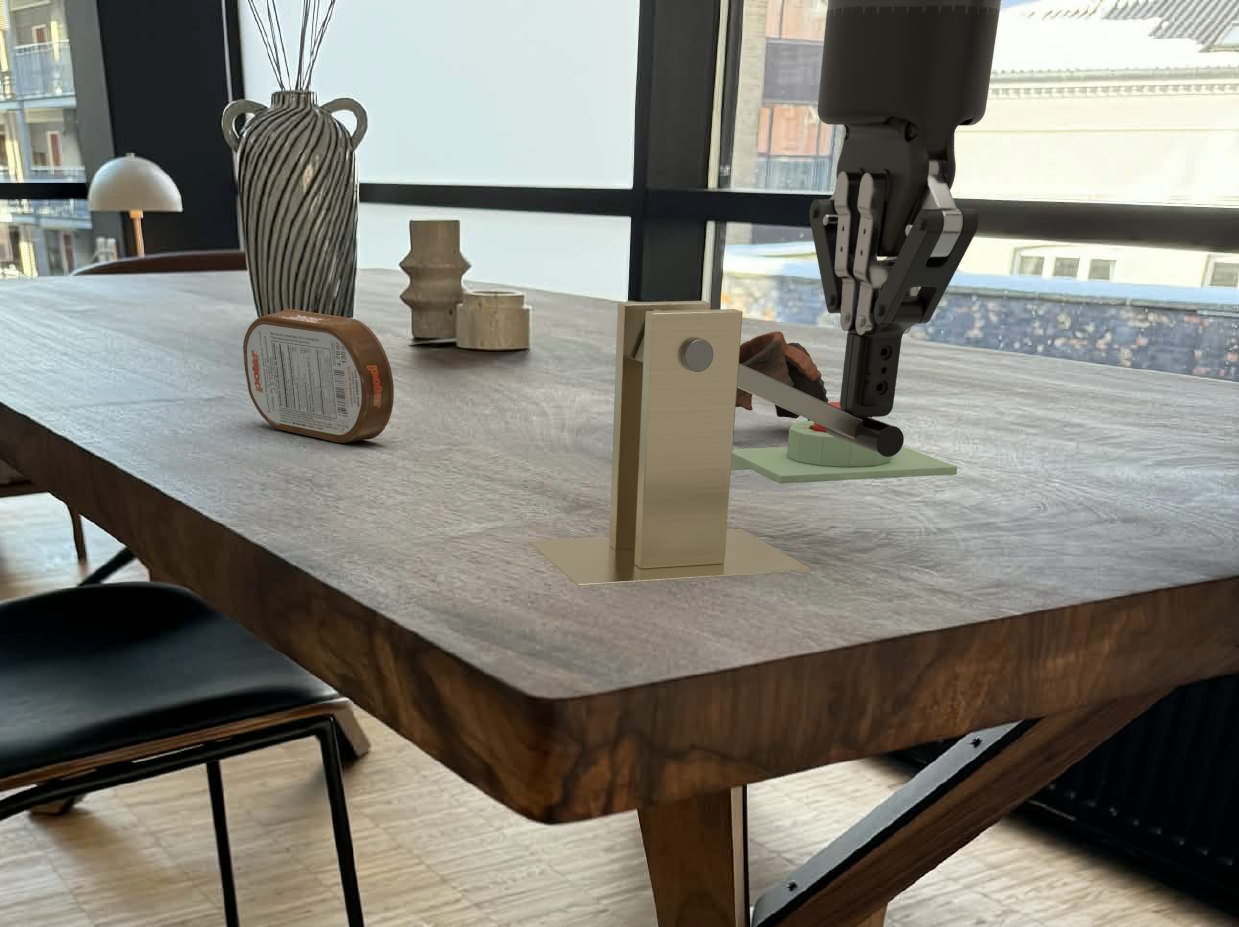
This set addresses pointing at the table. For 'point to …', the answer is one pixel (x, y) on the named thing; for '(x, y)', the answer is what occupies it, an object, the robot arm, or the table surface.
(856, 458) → the housing
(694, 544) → the bracket
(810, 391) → the crumpled brown leather
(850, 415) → the lever
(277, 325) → the tin
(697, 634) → the table surface
